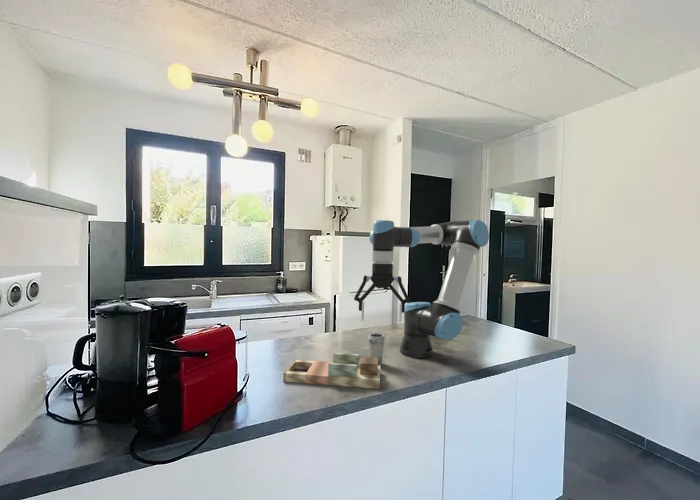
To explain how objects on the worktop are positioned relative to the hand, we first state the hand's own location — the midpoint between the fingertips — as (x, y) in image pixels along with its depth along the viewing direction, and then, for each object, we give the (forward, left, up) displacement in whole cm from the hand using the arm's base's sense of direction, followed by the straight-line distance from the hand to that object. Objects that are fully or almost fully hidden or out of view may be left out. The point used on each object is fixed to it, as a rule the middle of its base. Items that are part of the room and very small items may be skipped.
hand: (381, 320), depth 114 cm
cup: (+2, -14, -22) cm, 25 cm away
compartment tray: (+17, +2, -21) cm, 27 cm away
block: (+4, +2, -18) cm, 19 cm away
